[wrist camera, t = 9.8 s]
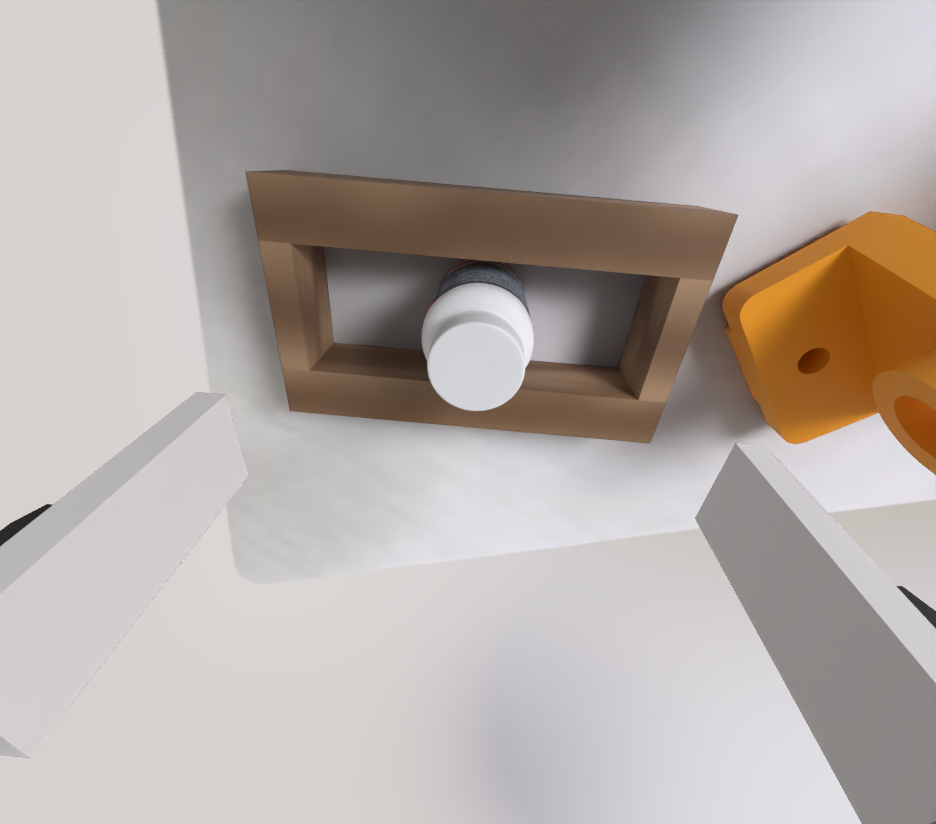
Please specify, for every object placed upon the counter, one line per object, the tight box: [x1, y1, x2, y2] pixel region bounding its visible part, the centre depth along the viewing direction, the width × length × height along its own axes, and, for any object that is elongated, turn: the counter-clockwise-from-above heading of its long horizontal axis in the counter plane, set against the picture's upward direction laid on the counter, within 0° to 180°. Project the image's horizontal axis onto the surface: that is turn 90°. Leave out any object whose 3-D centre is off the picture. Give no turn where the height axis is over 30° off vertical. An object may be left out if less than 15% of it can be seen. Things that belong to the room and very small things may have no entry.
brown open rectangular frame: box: [246, 170, 738, 443], centre depth 22 cm, size 12×21×4 cm, turn 86°
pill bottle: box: [422, 259, 534, 411], centre depth 20 cm, size 5×5×9 cm
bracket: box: [722, 211, 936, 475], centre depth 19 cm, size 11×7×12 cm, turn 35°
